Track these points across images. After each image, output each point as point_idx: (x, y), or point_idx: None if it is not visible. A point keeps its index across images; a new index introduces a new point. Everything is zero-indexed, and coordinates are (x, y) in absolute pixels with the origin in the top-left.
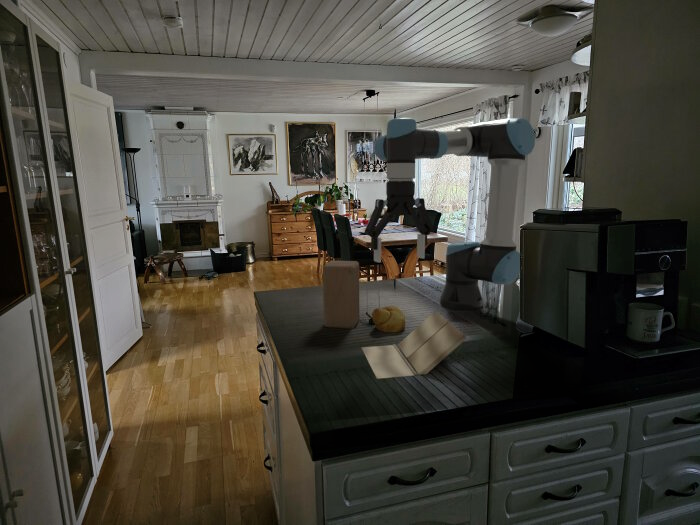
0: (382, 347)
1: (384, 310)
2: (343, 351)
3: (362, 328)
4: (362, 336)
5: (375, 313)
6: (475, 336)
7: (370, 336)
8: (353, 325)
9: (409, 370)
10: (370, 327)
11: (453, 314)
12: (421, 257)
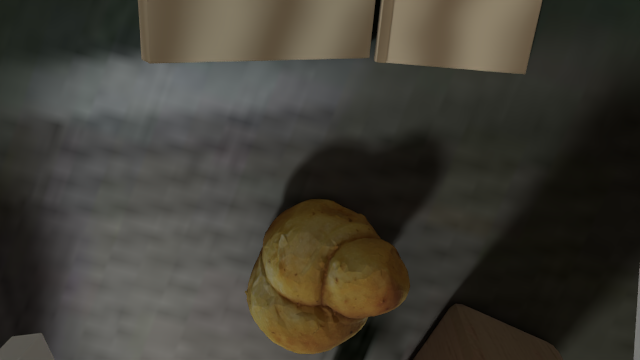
0: (440, 48)
1: (356, 281)
2: (585, 94)
3: (417, 297)
4: (449, 222)
5: (400, 276)
6: (8, 98)
7: (419, 213)
8: (457, 308)
9: None
10: None
11: None
12: (42, 353)
